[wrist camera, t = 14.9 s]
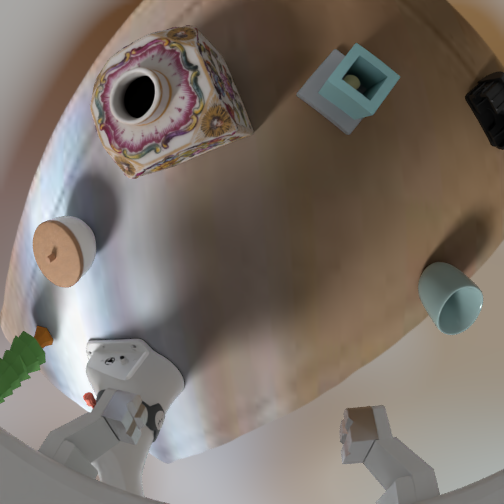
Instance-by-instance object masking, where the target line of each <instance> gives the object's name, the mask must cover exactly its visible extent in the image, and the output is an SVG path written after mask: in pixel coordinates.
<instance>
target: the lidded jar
mask: <svg viewBox="0 0 504 504" xmlns="http://www.w3.org/2000/svg"><path fill="white" fill-rule="evenodd" d="M33 251H34V256H35V259H36V262H37V264H38V266H39V268H40V270H41V271H42V273H43V274H44V275H45V277H46V278H47V279H48V280H50V281H51V282H52V283H54V284H55V285H57V286H60V287H71V286H73V285H74V284H75V283H77V282H78V281H79V279H80V278H81V277H83V276H84V275H85V274H86V272H87V271H88V270H89V269H90V267H91V266H92V264H93V262H94V259H95V255H96V239H95V235H94V233H93V231H92V229H91V228H90V227H89V226H88V225H87V224H86V223H85V222H84V221H82V220H81V219H79V218H77V217H73V216H61V217H57V218H54V219H52V220H48V221H46V222H43V223H41V224H40V225H39V226H38V227H37V229H36V231H35V233H34V237H33Z"/></svg>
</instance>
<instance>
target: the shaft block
mask: <svg viewBox="0 0 504 504" xmlns="http://www.w3.org/2000/svg"><path fill="white" fill-rule="evenodd" d="M344 57H345V55H343V54H342V53H340V52H339V51H338V50H336V49H334V50H333V51H332V52H331V54H330V55H329V56H328V57H327V58H326V59H325V60H324V62H323V63H322V64H321V65H320V66H319V67H318V69H317V70H316V71H315V72H314V73H313V75H312V76H311V77H310V78H309V79H308V81H307V82H306V83H305V84H304V85H303V87H302V88H301V89H300V90H299V91H298V93H297V95H296V96H297V97H299V98H300V99H302V100H303V101H304V102H306V103H307V104H308V105H310V106H311V107H312V108H314V109H315V110H316V111H318V112H319V113H320V114H322V115H323V116H324V117H325V118H327V119H328V120H329V121H330V122H332V123H333V124H334V125H335V126H337V127H338V128H339V129H340V130H341V131H343V132H344V133H345V134H346V135H349V134H351V132H352V131H353V130H354V129H355V127H356V126H357V125H358V124H359V122H360V121H361V120H362V119H363V118H359V119H355V120H354V119H353V118H351V117H350V116H349V115H348V114H346V113H345V112H344V111H342V110H341V109H340V108H338V107H337V106H336V105H334V104H333V103H331V102H330V101H329V100H327V99H326V98H324V97H323V96H322V95H320V94H319V93H318V92H319V91H320V89H321V88H322V87H323V85H324V84H325V82H326V81H327V80H328V78H329V77H330V76H331V74H332V73H333V72H334V70H335V69H336V68H337V66H338V65H339V64H340V63H341V61H342V60H343V59H344ZM342 80H344V81H345V82H346V83H348V84H349V85H350V86H352V87H353V88H354V89H356V90H357V91H358V92H360V93H361V94H362V95H363V94H364V92H365V91H366V90H367V89H366V88H365V87H364V86H362V85H361V84H360V81H359V79H358V78H357V77H356V76H354V75H348V74H345V75H344V76H343V78H342Z"/></svg>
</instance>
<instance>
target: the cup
mask: <svg viewBox="0 0 504 504" xmlns="http://www.w3.org/2000/svg"><path fill="white" fill-rule="evenodd" d="M418 293H419V297H420V300H421V302H422V304H423V306H424V308H425V309H426V311H427V313H428V314H429V316H430V317H431V319H432V321H433V322H434V323H435V325H436V326H437V328H438V329H439V330H440V331H441V332H443V333H445V334H448V335H454V334H459V333H461V332H463V331H465V330H466V329H468V328H469V327H470V326H471V325H472V324H473V323H474V321H475V320H476V318H477V317H478V315H479V313H480V311H481V308H482V305H483V295H482V292H481V290H480V289H479V287H478V286H477V285H476V284H475V283H474V282H473V281H472V280H471V279H470V278H469V277H468V276H466V275H465V274H464V273H463V272H462V271H460V270H459V269H458V268H456V267H455V266H453V265H451V264H449V263H445V262H435V263H432V264H430V265H429V266H428V267H426V269H425V270H424V271H423V273H422V274H421V276H420V279H419V283H418Z"/></svg>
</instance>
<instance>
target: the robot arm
mask: <svg viewBox="0 0 504 504" xmlns="http://www.w3.org/2000/svg"><path fill="white" fill-rule="evenodd" d="M86 352H87V356H88V359H89V361H88V363H87V366H86V374H87V377H88V380H89V382H90V385H91V387H92V389H93V390H94V392H95V394H96V396H97V399H96V400H95V399H94V396H93V394H92V393H90V392H88V393H85V395H84V396H83V398H84V400H85V401H86V402H87V405H88V406H92V408H93V409H92V412H91V413H90V412H88V413H86V414H84V415H82V416H80V417H78V418H77V419H75V420H73V421H71V422H69V423H67V424H65V425H63V426H61V427H59V428H57V429H55V430H53V431H51V432H50V433H49V435H48V436H47V438H46V439H45V441H44V442H43V444H42V445H41V447H40V449H39V450H38V451H37V450H35V449H34V448H32V447H30V446H29V445H27V444H25V443H24V442H22V441H20V440H19V439H17V438H16V437H14V436H13V435H11V434H10V433H8V432H7V431H6V430H4V429H3V428H1V427H0V504H168V503H165V502H161V501H157V500H153V499H150V498H146V497H145V496H144V493H143V488H142V473H143V468H144V465H145V461H146V458H147V455H148V452H149V449H150V447H151V444H152V443H153V442H154V441H155V440H156V438H157V436H158V434H159V432H160V429H161V428H162V425H163V422H164V419H165V414H166V412H167V411H168V409H169V407H170V406H171V404H172V403H173V401H174V400H175V399H176V398H177V397H178V395H179V394H180V393H181V392H182V391H183V389H184V380H183V377H182V375H181V373H180V372H179V370H178V369H177V368H176V367H175V366H174V364H172V363H171V362H170V361H169V360H168V359H166V358H165V357H163V356H162V355H160V354H158V353H157V352H155V351H154V350H152V349H151V347H150V346H149V345H148V344H147V343H146V342H144V341H143V340H141V339H121V340H91V341H88V343H87V346H86ZM340 442H341V443H342V444H343V447H342V450H341V455H342V464H352V463H363V462H364V463H363V464H364V465H365V466H366V468H367V469H368V470H369V471H370V472H371V473H372V475H373V476H374V477H375V478H376V479H377V480H378V482H379V483H380V484H381V485H382V486H383V487H384V489H385V490H386V492H385V493H384V494H383V495H382V496H381V498H380V499H379V500H378V501H377V502H376V504H504V469H503V470H501V471H499V472H497V473H495V474H492V475H490V476H488V477H486V478H484V479H481V480H479V481H477V482H474V483H472V484H469V485H467V486H464V487H462V488H459V489H456V490H454V491H451V492H448V493H445V494H442V495H440V493H439V489H438V484H437V480H436V476H435V472H434V469H433V468H432V467H431V466H430V465H428V464H427V463H426V462H424V460H422V459H421V458H420V457H419V456H418V455H416V454H415V453H414V452H413V451H412V450H411V449H409V448H408V447H407V446H406V445H405V444H404V443H402V442H401V441H400V440H399V439H398V438H397V437H392V433H391V429H390V425H389V421H388V417H387V413H386V409H385V407H384V406H383V405H379V406H371V407H370V406H367V407H358V408H348V409H345V411H344V419H343V420H342V421H341V425H340ZM97 474H98V475H99V478H100V481H98V480H95V478H96V476H97Z"/></svg>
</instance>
